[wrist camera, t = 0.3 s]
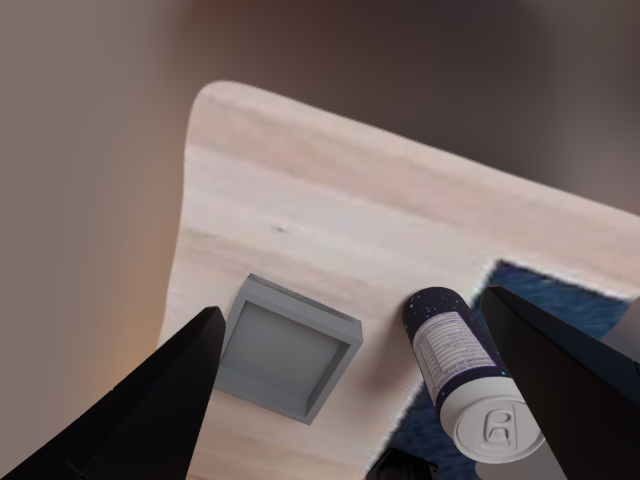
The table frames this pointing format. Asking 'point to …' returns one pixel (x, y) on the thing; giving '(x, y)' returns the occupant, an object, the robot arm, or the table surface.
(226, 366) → the tray
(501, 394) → the beverage can
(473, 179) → the table surface
